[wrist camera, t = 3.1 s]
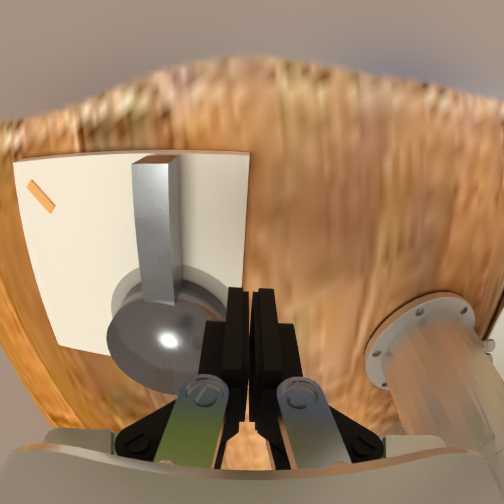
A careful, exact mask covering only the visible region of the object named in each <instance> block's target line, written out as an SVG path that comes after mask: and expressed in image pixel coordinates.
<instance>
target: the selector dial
mask: <svg viewBox="0 0 504 504" xmlns="http://www.w3.org/2000/svg"><path fill="white" fill-rule="evenodd" d="M131 167H132V189H133V205H134V219H135V230H136V241H137V250H138V259H139V268H140V275H141V282H140V283H139V284H137V285H135V286H134V287H133V288H132V289H131V290H130V291H129V292H128V293H127V295H126V296H125V298H124V300H123V302H122V303H121V305H120V307H119V309H118V310H117V312H116V314H115V316H114V317H113V319H112V321H111V323H110V325H109V327H108V330H107V335H106V340H107V346H108V350H109V352H110V355H111V356H112V358H113V360H114V361H115V363H116V364H117V365H118V366H119V368H120V369H121V370H122V371H123V372H124V373H125V374H127V375H128V376H129V377H130V378H132V379H133V380H135V381H136V382H138V383H140V384H142V385H143V386H145V387H148V388H150V389H153V390H156V391H158V392H162V393H167V394H172V395H178V394H179V391H180V389H181V386H182V385H183V383H184V382H185V381H186V380H187V379H188V378H190V377H192V376H195V375H198V370H199V363H200V356H201V349H202V343H203V336H204V330H205V324H206V320H211V321H226V311H227V309H226V308H225V306H224V305H223V304H222V302H221V301H220V300H219V299H218V298H217V297H216V296H215V295H213V294H212V293H211V292H210V291H208V290H207V289H205V288H203V287H202V286H200V285H198V284H196V283H193V282H190V281H188V280H184V279H183V275H182V254H181V226H180V155H147V156H145V157H143V158H141V159H140V160H138V161H136V162H134V163H132V164H131Z"/></svg>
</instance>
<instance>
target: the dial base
mask: <svg viewBox="0 0 504 504" xmlns="http://www.w3.org/2000/svg"><path fill="white" fill-rule="evenodd" d="M147 155H180V226H181V254H182V275H183V279H184V280H188V281H190V282H193V283H196V284H198V285H200V286H202V287H203V288H205V289H207V290H208V291H210V292H211V293H212V294H213V295H215V296H216V297H217V298H218V299H219V300H220V301H221V302H222V304H223V305H224V306H225V308H226V309H227V299H228V287H242V274H243V257H244V240H245V223H246V207H247V191H248V175H249V160H250V152H238V151H216V150H123V151H101V152H85V153H72V154H61V155H51V156H41V157H33V158H25V159H22V160H19V161H17V162H14V163H13V165H14V175H15V183H16V190H17V197H18V203H19V209H20V214H21V220H22V225H23V230H24V234H25V239H26V243H27V248H28V252H29V256H30V260H31V263H32V267H33V271H34V274H35V278H36V281H37V285H38V288H39V291H40V294H41V297H42V300H43V303H44V306H45V309H46V312H47V315H48V318H49V320H50V323H51V326H52V328H53V331H54V334H55V336H56V339H57V341H58V344H59V345H61V346H66V347H70V348H74V349H79V350H84V351H89V352H94V353H99V354H104V355H109V356H111V355H110V352H109V350H108V346H107V340H106V335H107V330H108V327H109V325H110V323H111V321H112V319H113V317H114V316H115V314H116V312H117V310H118V309H119V307H120V305H121V303H122V302H123V300H124V298H125V296H126V295H127V293H128V292H129V291H130V290H131V289H132V288H133V287H134V286H135V285H137V284H139V283H140V282H141V275H140V268H139V259H138V250H137V241H136V230H135V219H134V205H133V189H132V167H131V164H132V163H134V162H136V161H138V160H140V159H141V158H143V157H145V156H147Z"/></svg>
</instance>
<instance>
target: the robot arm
mask: <svg viewBox="0 0 504 504" xmlns="http://www.w3.org/2000/svg"><path fill="white" fill-rule="evenodd" d="M474 328H475V315H474V311H473V309H472V307H471V306H470V304H469V303H468V302H467V301H466V300H465V299H464V298H463V297H462V296H460V295H458V294H455V293H451V292H438V293H432V294H428V295H425V296H423V297H420V298H417V299H415V300H414V301H412V302H410V303H408V304H406V305H404V306H403V307H402V308H400V309H399V310H397V311H396V312H394V313H393V314H392V315H391V316H390V317H389V318H388V319H387V320H385V321H384V322H383V324H382V325H381V326H380V327H379V328H378V329H377V330H376V332H375V333H374V335H373V336H372V338H371V339H370V341H369V343H368V345H367V348H366V350H365V354H364V368H365V371H366V375H367V377H368V379H369V380H370V382H371V383H372V384H374V385H375V386H376V387H378V388H380V389H384V390H389V391H390V393H391V396H392V399H393V402H394V405H395V407H396V410H397V413H398V416H399V419H400V422H401V425H402V428H403V431H404V434H405V435H385V436H384V437H378V436H377V435H376V434H375V433H373V432H372V431H370V430H368V429H367V428H365V427H363V426H361V425H360V424H358V423H356V422H355V421H353V420H352V419H350V418H348V417H347V416H345V415H343V414H342V413H340V412H339V411H337V410H335V409H334V408H332V407H331V406H329V405H328V403H327V400H326V398H325V395H324V393H323V390H322V389H321V387H320V386H319V385H318V384H317V383H316V382H315V381H313V380H311V379H309V378H305V377H303V374H302V368H301V363H300V357H299V351H298V346H297V340H296V335H295V329H294V325H293V324H284V323H278V319H277V311H276V303H275V295H274V289H265V288H259V290H258V292H253V297H252V310H251V322H250V334H249V292H245V291H243V288H242V287H228V299H227V311H226V321H211V320H206V324H205V330H204V336H203V343H202V349H201V356H200V363H199V370H198V375H195V376H192V377H190V378H188V379H187V380H186V381H185V382H184V383H183V385H182V386H181V389H180V391H179V394H178V397H177V399H176V400H174V401H172V402H170V403H169V404H167V405H165V406H164V407H162V408H160V409H158V410H157V411H155V412H153V413H151V414H150V415H148V416H146V417H144V418H143V419H141V420H139V421H137V422H135V423H134V424H132V425H130V426H128V427H126V428H125V429H123V430H122V431H121V432H112V430H111V429H78V428H54V429H52V430H51V431H49V432H48V433H47V435H46V436H45V439H44V443H38V444H29V445H24V446H21V447H18V448H16V449H14V450H13V451H12V452H11V453H10V454H9V455H8V456H7V457H6V459H5V460H4V462H3V463H2V465H1V467H0V504H504V382H503V380H502V378H501V377H500V375H499V373H498V372H497V370H496V369H495V367H494V366H493V364H492V362H493V360H492V356H491V354H490V353H485V352H490V351H493V350H494V348H495V342H494V340H493V339H488V340H483V341H481V339H480V338H479V337H478V335H477V334H476V332H475V331H474ZM248 380H249V422H255V430H257V433H259V434H260V435H261V436H262V437H264V438H265V439H266V446H267V450H268V454H269V458H270V463H271V467H272V470H265V471H250V470H222V467H223V463H224V458H225V454H226V450H227V445H228V440H229V439H230V438H232V437H233V436H234V435H236V434H237V433H238V432H239V422H244V421H245V411H246V401H247V391H248Z"/></svg>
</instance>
